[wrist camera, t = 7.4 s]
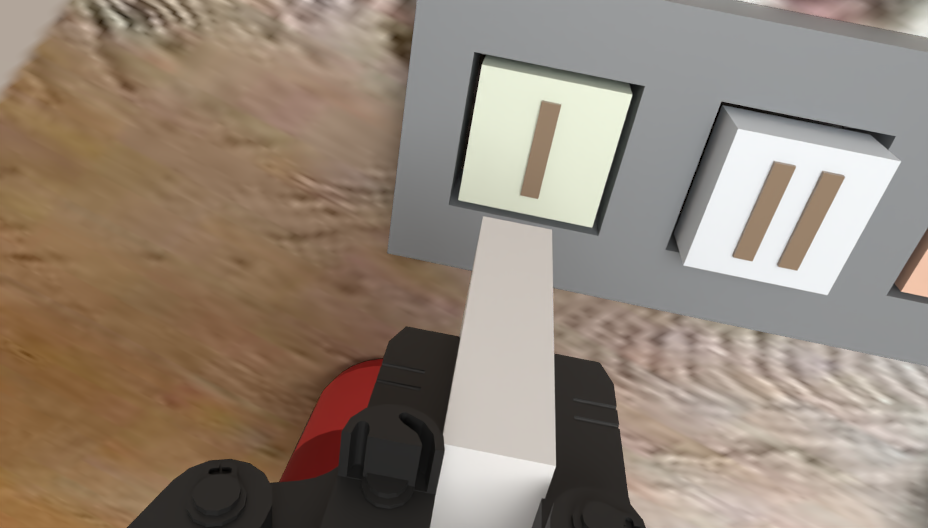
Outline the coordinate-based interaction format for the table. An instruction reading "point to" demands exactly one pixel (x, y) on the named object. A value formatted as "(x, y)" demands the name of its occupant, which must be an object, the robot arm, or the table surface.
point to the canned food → (331, 422)
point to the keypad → (678, 150)
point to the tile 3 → (916, 270)
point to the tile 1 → (542, 140)
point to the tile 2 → (781, 199)
